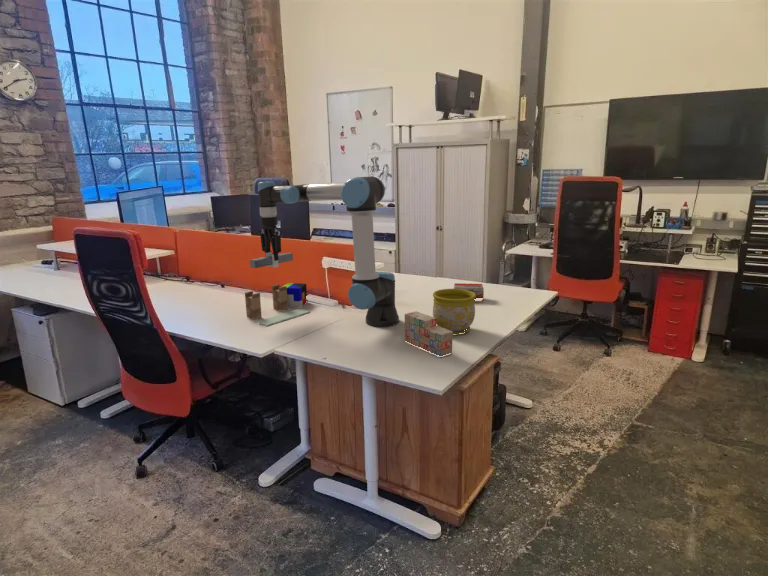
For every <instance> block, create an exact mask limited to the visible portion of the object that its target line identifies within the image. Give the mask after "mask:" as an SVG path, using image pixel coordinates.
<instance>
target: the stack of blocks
mask: <svg viewBox="0 0 768 576" xmlns="http://www.w3.org/2000/svg"><path fill="white" fill-rule="evenodd" d="M453 336H454V335H453V331H450V330H447V329H445V328H442V327H439V326H437V324H436V318H435V317H433V315H432V316H431V315H429V314H425V313H423V312H420V311H417V310H416V311H411V312H408V313H404V342H405V341H407V342H409V343H411V344H413V345H415V346H418V347H421V348H423V349H425V350H427V351H430V352H431V353H434V354H436V355H439V356H443V355H446V354H449V353H452V354H453V338H454V337H453Z"/></svg>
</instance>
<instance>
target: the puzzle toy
mask: <svg viewBox="0 0 768 576" xmlns="http://www.w3.org/2000/svg"><path fill="white" fill-rule="evenodd" d="M284 286H286V288H287V305H288V308H298V307H300V308H302V307H303V306H305V305H306V304H307V303H306V296H307V297H308V291H307V287H308V286H307V283H301V282H299V283H298V282H297V283H296V282H294V283H293V282H287V283H286V284H284V285H282V286H281V287H284ZM305 303H306V304H305ZM301 306H302V307H301Z"/></svg>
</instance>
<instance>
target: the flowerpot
mask: <svg viewBox="0 0 768 576" xmlns="http://www.w3.org/2000/svg"><path fill="white" fill-rule="evenodd" d="M432 296H433V305H432V306H433V307H432V317H435V318H436V326H439V327H442V328H445V329H447V330H450V331H453V334H459V333H464V332H467V331H468V332H469V331H471V326H472V324H473V322H474V320H475V316H476V304H475V303H476V302H475V300H474V299H475V298H476V294H475V293H474V292H472V291H469V290H464V289H454V288H442V289H438V290H436V291H434V292H433V293H432ZM466 329H467V330H466ZM464 330H465V331H464ZM468 332H467V333H468Z"/></svg>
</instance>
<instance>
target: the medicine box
mask: <svg viewBox="0 0 768 576" xmlns="http://www.w3.org/2000/svg"><path fill="white" fill-rule="evenodd" d="M453 285H454V286H453V289H464V290H469V291H472V292H474V293H475V294H476V298H483V299H484V296H485V294H484V288H485V287H484V285H483V284H482V283H455V282H454V283H453ZM476 298H475V299H476Z"/></svg>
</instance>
